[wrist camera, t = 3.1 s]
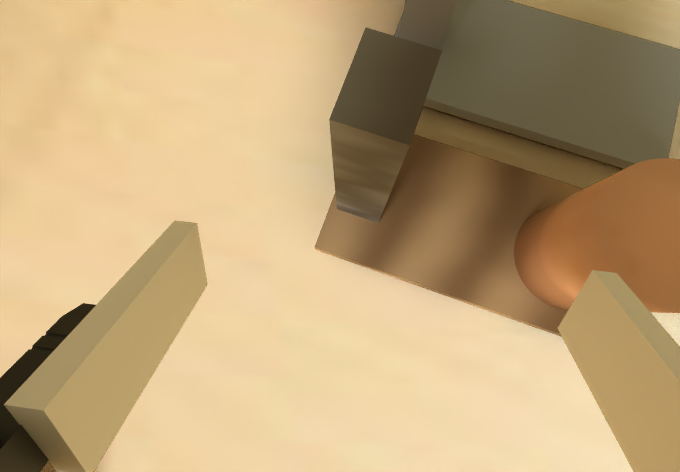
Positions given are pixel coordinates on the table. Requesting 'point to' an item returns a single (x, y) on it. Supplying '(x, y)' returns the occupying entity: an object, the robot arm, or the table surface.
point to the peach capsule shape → (608, 238)
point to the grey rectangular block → (549, 77)
